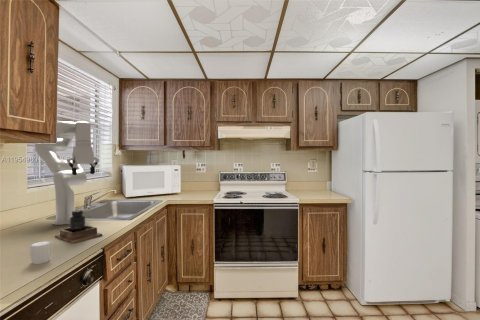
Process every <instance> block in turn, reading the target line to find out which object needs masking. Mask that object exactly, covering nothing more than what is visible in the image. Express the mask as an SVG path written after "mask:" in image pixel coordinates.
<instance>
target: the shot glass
mask: <svg viewBox="0 0 480 320" xmlns="http://www.w3.org/2000/svg"><path fill="white" fill-rule="evenodd" d="M28 247H29V252H30V259H31V264H32V265H41V264H44V263H47V262H49V261H50V259H51V250H52V241H51V240H41V241H36V242H32V243H30V244H29V245H28Z"/></svg>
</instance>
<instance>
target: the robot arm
mask: <svg viewBox="0 0 480 320" xmlns="http://www.w3.org/2000/svg"><path fill="white" fill-rule="evenodd" d="M56 122H57V143H56V144H35V143H34V146H35V147H34V148H35V150H36V153H37V155H38V156H39V158H41V159H42V161H44V162H45V165H46V167H48V169H49V171H50V172H51V173H52V180H53V185H54V188H55V189H54V192H55V220H53V221H52V224H53V225H57V226H59V225H60V226H61V225H62V226H65V225H70V218H71V217H72V211H75V192H74V189H72V188H71V187H73V186H81V185H84V184H85V183H86V182H87V178H88V176H87V174H86V171H85V170H84V169H83V167H82V166H81V165H89V166H90V168H89V174H90V175H94V174H95V173H96V172H95V171H96V170H95V169H96V166H97V165H98V163H99V161H100V159H99V158H98V157H96V156H94V149H93V147H92V145H94V142H92V137H91V136H92V135H91V134H92V132H91V131H92V129H91V128H92V127H91V123H90V122H89V121H75V122H74V121H64V120H63V121H62V120H61V121H56ZM74 136H75V139H74ZM73 139H74V140H75V143H74V145H75V146H73V147H72V153H71V157H69V158H67V159H63V158H61V155H59V154H58V153H56V152H65V151H67V150H68V148H69V146H70V144H72V143H71V142H72V140H73Z"/></svg>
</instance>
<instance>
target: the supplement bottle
mask: <svg viewBox="0 0 480 320" xmlns="http://www.w3.org/2000/svg"><path fill="white" fill-rule="evenodd" d="M86 225H87V224H86V216H85V215H84V210H81V209H80V210H74V211H72V217H71V218H70V224H69V228H70V232H73V233H74V232H78V231H82V230H86Z"/></svg>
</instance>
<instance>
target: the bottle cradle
mask: <svg viewBox="0 0 480 320" xmlns="http://www.w3.org/2000/svg"><path fill="white" fill-rule="evenodd" d="M102 236H103V233H101V232H98V227H96V226H91V225H89V224H86V230H82V231H78V232H74V233H73V232H70V227H67V228H62V229H59V233H58V234H55V235H54V238H55V239H56V238H57V239H59V240H62V241H65V242H67V243H70V244H77V243H81V242H84V241H89V240H92V239H96V238H100V237H102Z"/></svg>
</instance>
